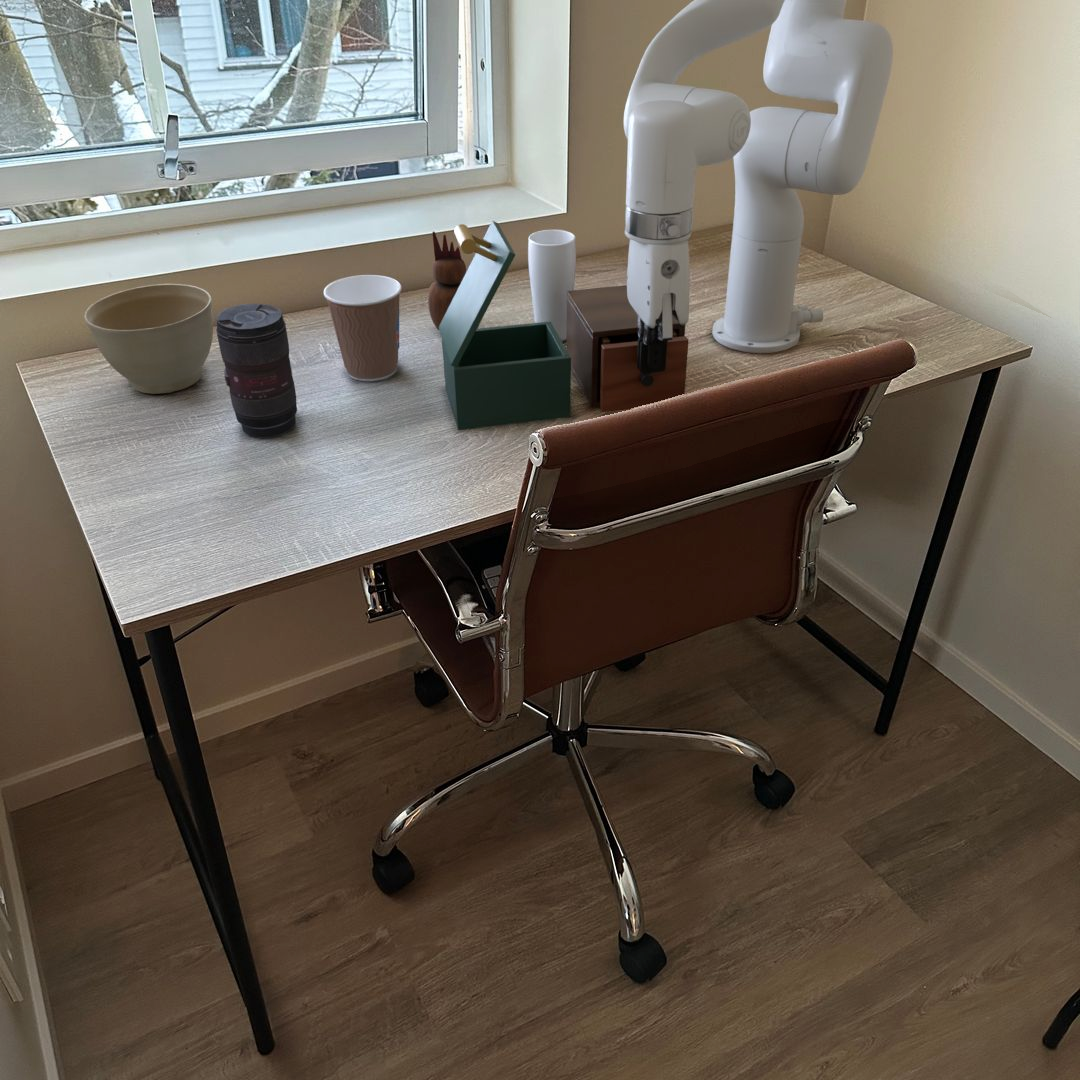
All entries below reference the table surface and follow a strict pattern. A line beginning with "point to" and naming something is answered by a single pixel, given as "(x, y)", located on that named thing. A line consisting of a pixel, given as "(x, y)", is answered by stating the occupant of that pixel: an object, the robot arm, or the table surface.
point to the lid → (475, 287)
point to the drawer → (637, 373)
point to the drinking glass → (551, 276)
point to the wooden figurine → (444, 279)
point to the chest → (510, 377)
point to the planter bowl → (154, 334)
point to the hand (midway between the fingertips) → (650, 369)
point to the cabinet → (598, 330)
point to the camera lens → (258, 368)
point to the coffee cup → (366, 324)
